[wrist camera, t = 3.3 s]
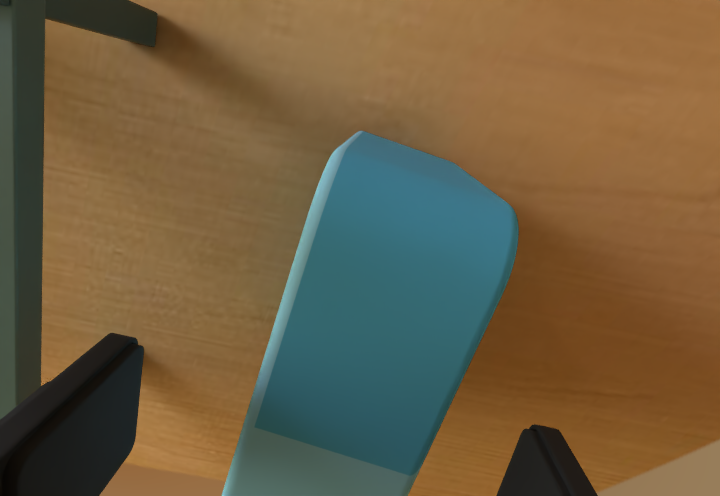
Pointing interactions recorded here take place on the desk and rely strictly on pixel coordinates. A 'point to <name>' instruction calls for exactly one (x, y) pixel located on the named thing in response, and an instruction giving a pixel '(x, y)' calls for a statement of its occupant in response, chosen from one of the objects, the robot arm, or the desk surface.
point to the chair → (35, 167)
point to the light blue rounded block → (374, 324)
